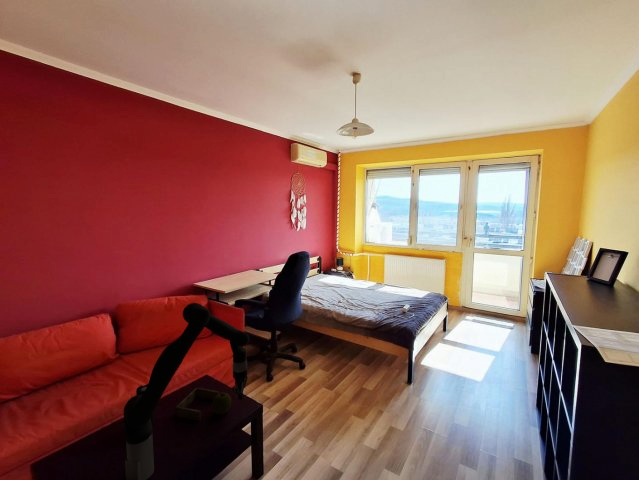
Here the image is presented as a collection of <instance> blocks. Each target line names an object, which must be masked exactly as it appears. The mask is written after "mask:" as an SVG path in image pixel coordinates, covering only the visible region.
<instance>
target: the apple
mask: <svg viewBox="0 0 639 480" xmlns="http://www.w3.org/2000/svg"><path fill="white" fill-rule="evenodd" d="M211 403H212V410H213V411H214V413H215V414H216V415H219V416H221V415H224V414H226V413H228V411H229V410H230V408H231V405H232V398H231V396H230V395H229V394H228V393H227V392H219V394H218V395H216V396H215V398H214V399H212V402H211Z"/></svg>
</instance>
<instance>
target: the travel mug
mask: <svg viewBox="0 0 639 480" xmlns="http://www.w3.org/2000/svg"><path fill="white" fill-rule="evenodd" d="M147 385H148V383H146V384H145V385H139V386H138V387H137V388H136V390H135V392H136V393H135V394H136V395H143V393H144V392H145V390H146V388H147ZM136 395H135V396H136ZM151 423H152V427H153V426H154V424H155V412H154V413H153V415H152V417H151Z"/></svg>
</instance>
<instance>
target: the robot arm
mask: <svg viewBox="0 0 639 480" xmlns="http://www.w3.org/2000/svg"><path fill="white" fill-rule="evenodd" d="M182 317H183V319H184V321H185V322H186V323H187V325H186V327H185V328H184V330H183V332H182V333H181V335H180V336H178V338H176V339H175V340H173V341H172V342H171V343H169V344H168V345H167V346H166V347H165V348H164V349H163V350H162V352H161V354H160V355H159V357H158V358H157V360H156V361H155V363H154V365H153V367H152V371H151V373H150V377H149V378H148V379H149V380H148V383H147V384H148V385H147V388H146V390H145V392H144V393H143V395H133V396H132V397H130V398H129V399H128V401H126V403H125V404H124V408H123V422H124V423H123V424H124V425H123V426H124V431H125V432H124V433H125V443H126V459H125V461H124V465H125V467H124V469H125V480H148V479H150V478H151V477H152V475H153V473H154V471H155V460H154V459H155V458H154V438H153V437H154V435H153V426H152V423H151V417H152V415H153V413H154V414H155V411H156V409H157V406H158V404H159V403H160V401H161V398H162V396H163V394H164V392H165V391H166V389H167V387H168V386H169V384H170V383H171V381H172V379H173V378H174V376H175V374H176V372H177V371H178V370H179V368H180V366H181V365H182V363H183V361H184V359H185V357H186V356H187V354H188V352H189V351H190V349H191V348H192V346H193V344H194V343H195V341H196V340H197V339H198V337H199V336H200V335H201V333H202V332H203V330H204V329H205V328H206V329H207V330H209V331H211V332H212V333H213V334H215V335H217V336H218V337H220V338H222V339H224V340H227V341H229V344H230V350H231V352H232V378H233V379H234V387H232V391H233V392H234V394H236V395H237V399H238V400H242V399H243V398H244V390H245V389H246V386H247V382H248V378H249V377H248V359H247V358H248V356H247V355H248V354H247V349H246V348H245V346H247V345H248V344H249V342H250V335H249V334H248V333H247V332H245V331H243V330H241V329H239V328H237V327H235V326H233V325H232V324H230V323H228V322H227V321H224V320H222V319H220V318H219V317H216V316H215V315H212V314H211V312H210V310H209V309H208V308H207V307H205V306H204V305H202V304H201V303H198V302H191V303H188V304H187V305H186V306H185V307H184V308H183V310H182Z"/></svg>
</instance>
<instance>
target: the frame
mask: <svg viewBox="0 0 639 480" xmlns="http://www.w3.org/2000/svg"><path fill="white" fill-rule="evenodd" d="M219 393H220V392H219V390H213V389H207V388H203V387H195V388H194V389H193V390H192V391H191V392H190V393H189V394H188V395H187V396H185V398H184V399H182V401H181V402H179V403H178V404H177V405H176V406H175V411H174V412H175V417H179V418H183V419H189V420H193V421H200V422H201V419H202V414H201V413H202V411H201V410H199V409H195V408H194V409H193V408H189V406H190V405H191V404H192V402H193V401H195V400H196V399H197V398H203V399H209V400H213V399H214V398H215V396H216V395H218V394H219Z"/></svg>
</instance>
